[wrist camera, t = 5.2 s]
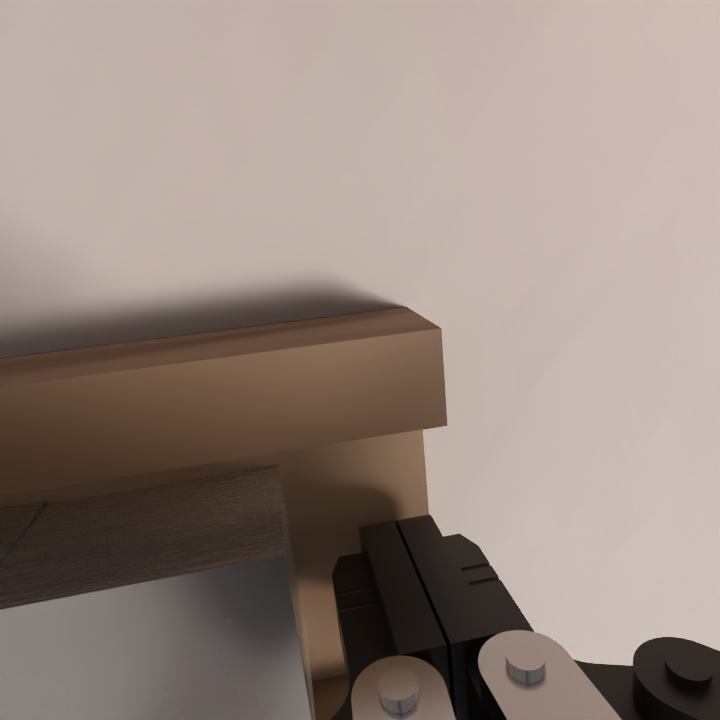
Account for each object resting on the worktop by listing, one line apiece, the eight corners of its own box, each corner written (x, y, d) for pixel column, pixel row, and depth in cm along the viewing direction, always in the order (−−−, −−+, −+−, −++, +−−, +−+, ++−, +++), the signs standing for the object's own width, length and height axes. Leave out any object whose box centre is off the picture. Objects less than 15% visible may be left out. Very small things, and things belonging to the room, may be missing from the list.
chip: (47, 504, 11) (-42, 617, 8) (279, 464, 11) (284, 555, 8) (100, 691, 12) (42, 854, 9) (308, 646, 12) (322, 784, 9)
